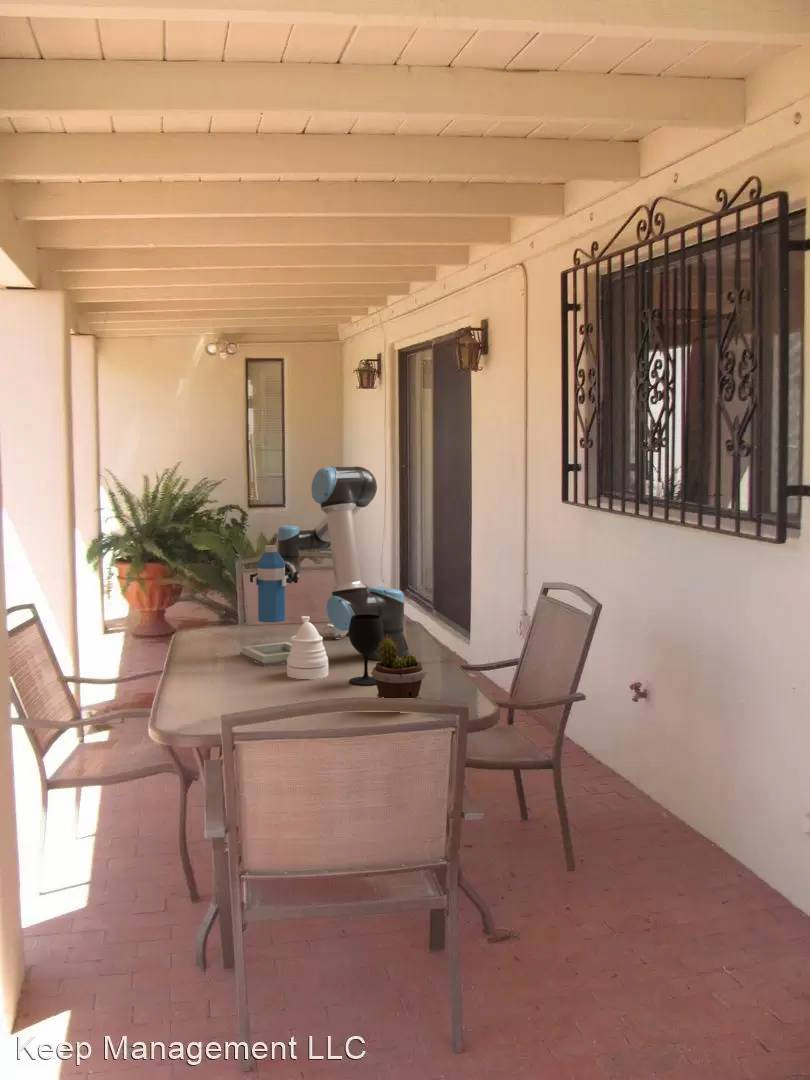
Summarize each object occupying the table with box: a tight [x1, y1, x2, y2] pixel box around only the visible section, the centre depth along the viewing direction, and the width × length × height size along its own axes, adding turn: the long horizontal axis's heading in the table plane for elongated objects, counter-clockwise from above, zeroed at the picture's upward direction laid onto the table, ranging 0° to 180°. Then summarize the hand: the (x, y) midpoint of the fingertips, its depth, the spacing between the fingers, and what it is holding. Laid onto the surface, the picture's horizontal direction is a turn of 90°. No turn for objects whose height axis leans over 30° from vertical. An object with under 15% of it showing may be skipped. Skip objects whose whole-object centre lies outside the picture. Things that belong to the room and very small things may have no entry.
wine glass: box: [348, 614, 383, 687], centre depth 314 cm, size 10×10×20 cm
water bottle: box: [257, 544, 287, 623], centre depth 347 cm, size 9×9×25 cm
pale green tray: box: [239, 641, 293, 667], centre depth 347 cm, size 20×17×3 cm
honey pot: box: [286, 615, 329, 680], centre depth 323 cm, size 13×13×18 cm
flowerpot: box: [370, 636, 428, 700], centre depth 288 cm, size 14×15×20 cm
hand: (268, 582), depth 342 cm, fingers closed on water bottle, 9 cm apart
